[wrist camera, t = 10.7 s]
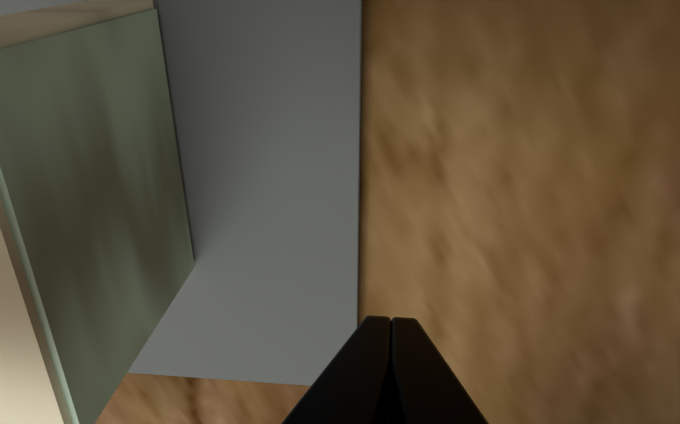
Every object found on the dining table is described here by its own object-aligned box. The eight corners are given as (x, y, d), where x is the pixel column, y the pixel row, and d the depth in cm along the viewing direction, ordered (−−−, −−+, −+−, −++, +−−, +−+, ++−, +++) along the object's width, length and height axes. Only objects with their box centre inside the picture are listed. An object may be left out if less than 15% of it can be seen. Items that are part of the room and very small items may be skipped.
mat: (364, -163, 12) (362, -168, 12) (357, 376, 19) (355, 389, 19) (-338, -147, 14) (-367, -150, 13) (-105, 344, 21) (-118, 355, 20)
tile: (197, 268, 17) (81, 454, 11) (144, 265, 17) (-1, 447, 11) (158, -1, 14) (-48, 47, 7) (92, -1, 14) (-165, 45, 8)
